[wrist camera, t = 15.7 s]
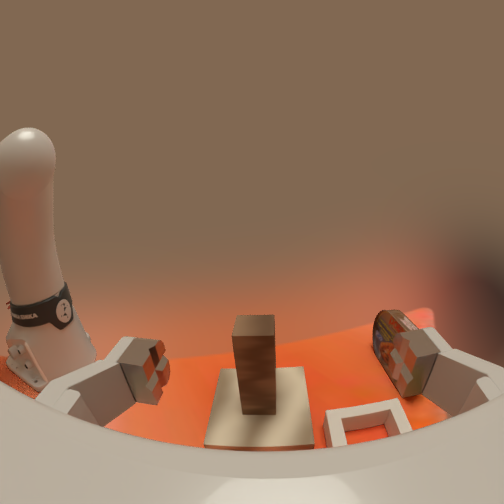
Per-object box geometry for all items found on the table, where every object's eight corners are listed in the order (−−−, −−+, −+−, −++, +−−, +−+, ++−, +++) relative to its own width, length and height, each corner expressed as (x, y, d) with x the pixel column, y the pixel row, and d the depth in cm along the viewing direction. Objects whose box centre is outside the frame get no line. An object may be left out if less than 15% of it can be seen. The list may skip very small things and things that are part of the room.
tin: (368, 344, 41) (375, 300, 39) (384, 341, 41) (392, 298, 39) (404, 405, 27) (423, 356, 24) (423, 398, 27) (442, 350, 24)
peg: (242, 414, 28) (231, 335, 25) (245, 392, 32) (236, 315, 29) (276, 414, 28) (274, 335, 25) (276, 392, 32) (274, 314, 28)
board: (205, 449, 24) (203, 444, 24) (221, 374, 37) (220, 368, 37) (313, 448, 23) (314, 443, 23) (302, 372, 37) (303, 366, 36)
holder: (332, 486, 18) (337, 475, 17) (323, 425, 27) (325, 410, 26) (412, 466, 17) (422, 453, 16) (391, 413, 26) (397, 397, 25)
